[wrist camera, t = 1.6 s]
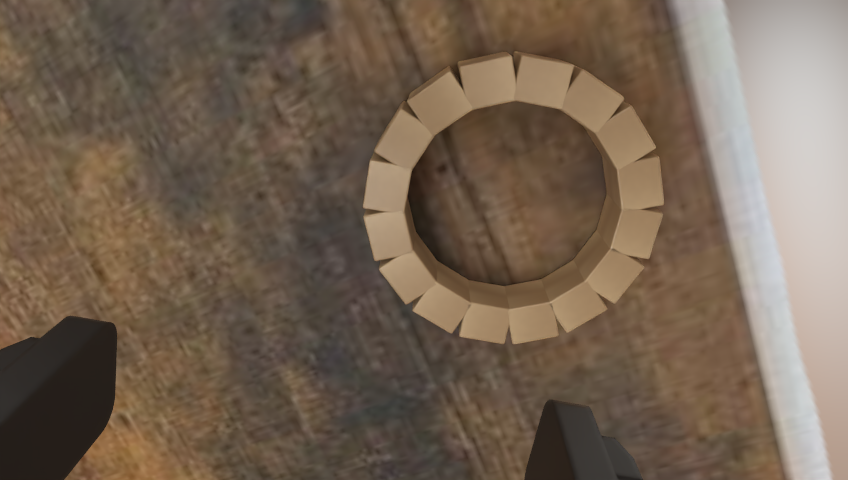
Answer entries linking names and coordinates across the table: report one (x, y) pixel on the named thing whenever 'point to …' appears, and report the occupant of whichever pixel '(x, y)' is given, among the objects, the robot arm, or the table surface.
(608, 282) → the ring
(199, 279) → the table surface
